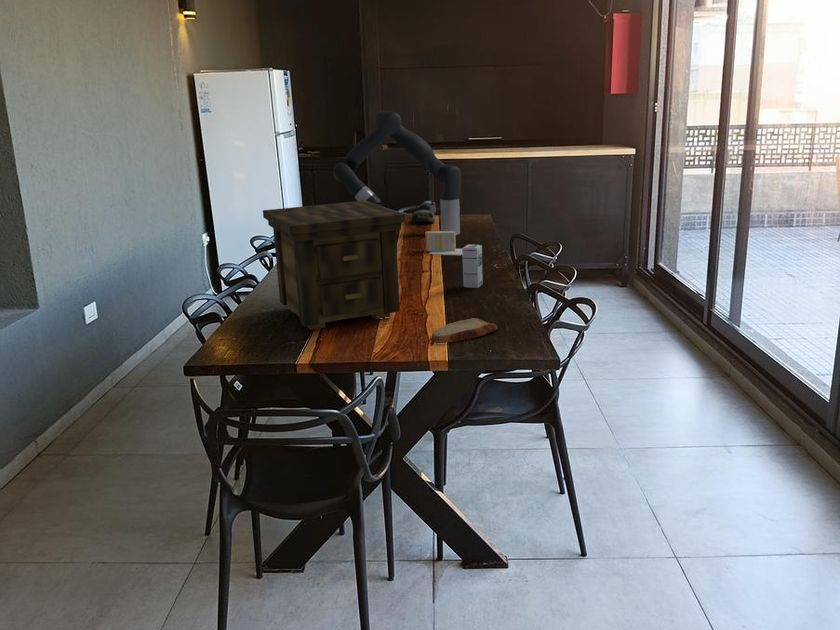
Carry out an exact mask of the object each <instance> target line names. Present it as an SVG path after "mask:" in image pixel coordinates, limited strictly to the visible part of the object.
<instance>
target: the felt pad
mask: <svg viewBox="0 0 840 630" xmlns="http://www.w3.org/2000/svg"><path fill="white" fill-rule="evenodd" d="M429 254H432V255H431V256H434V255H435V256H461V255H462V248H456V250H455V251H429V253H428V255H429Z"/></svg>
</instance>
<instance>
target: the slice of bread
mask: <svg viewBox="0 0 840 630" xmlns="http://www.w3.org/2000/svg"><path fill="white" fill-rule="evenodd" d="M497 330H498V325H497V324H496V323H493V322H491V323H490V322H487V321H485V320H483V319H481V318H477V317H476V318H475V317H471V318H468V319H462V320H461V319H460V320H457V321H455V322H450V323H447V324H445V325H444V326H442V327H440V328H437V329H436V330H435V331H433V332H432V335H431V339H432V340H431V339H430V340H431V342H432V341H433V342H435V343H446V342H454V341H459V342H461V341H460V340H463V341H466V340H465V339H468V340H472V339H471V338H473V339H475V338H476V337H477V338H480V337H484V336H485V335H488V334H491V333H494V332H496V331H497ZM433 342H432V343H433ZM435 343H434V344H435ZM454 343H455V342H454Z"/></svg>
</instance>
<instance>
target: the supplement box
mask: <svg viewBox="0 0 840 630" xmlns="http://www.w3.org/2000/svg"><path fill="white" fill-rule="evenodd" d="M424 236H425V252H431V251H455V250H456V249H457V247H456V246H457V245H456V235H455V231H441V230H433V231H425V233H424Z"/></svg>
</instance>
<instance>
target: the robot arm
mask: <svg viewBox="0 0 840 630" xmlns="http://www.w3.org/2000/svg"><path fill="white" fill-rule="evenodd" d="M374 122H375V126H376V127H377V128H376V129H375V130H374V131H373V132H372V133H370V134H369V135H368V136H366V137H365V138H363V139H361V140H360V141H359V142H357V143H356V144H355V145H354V146H353V147H352V149H351V150H350V151H348V153H347V154H346V156H345V157H344V160H342V161H341V162H337V163H335V165H334V166H333V169H332V170H333V173H332V174H333V178H334V180H335V181H337V182H338V183H342V184H343V185H344V186H345V187H346V189H347V191H348V192H349V193H350V194H351V195H352V196H353V197H354V198H355V200H356V201H369V202H371V203H374V204H377V205H380V206H382V205H381V199H380V198H379V196H378V195H376V193H375V192H374V191H372V190H371V189H370V188H369V187H368V186H367V185H366V184H365V183H364V182H363V181H362V180H361V179H359V178H358V176H357V175H356V174H355V172H354V171H355V170H356V169H357V168H358V167H359V166H360V165H361V164H362V163H363V162H364V161H365V160H366V159H367V157H368V156H370V154H371V153H372V152H373V151H374V150H375V149H376V148H377V147H378V146H380V145H381V144H382V143H383V142H384V141H386V140H387V139H389V138H391V139H392V140H394V141H395V142H396V143H397V144H398V145H399V146H400V147H401V148H402V149H403V150H404V151H405V152H406V153H408V155H410V156H411V157H412V158H413V159H414V160H416V162H418V163H419V164H420V165H421V166H422V167H424V168H425V169H426V170H427V171H428V172H429V173H430V174H431V175H433V177H434V178H435V179H436V180H437V181H438V182H439V183H440V184H442V185H444V191H442V192H440V194H439V199H440V201H439V203H440V231H455V236H458V235H460V234H461V227H460V226H461V223H460V222H461V215H460V214H461V213H460V196H461V192H462V172H461V169H460V168H459V167H458V166H456V165H451V164H446V163H444V162H443V161H442V160H440V159H439V158H438V157H437V156H436V155H435V153H434V150H433V149H432V147H431V145H430V144H429V143H428V142H426V141H425V140H424V139H423V138H422V137H421V136H419V135H418V134H416V133H414V132H413V131H411V130H409V129H407V128H405V127H404V126H403V125H402V118H401V116H400V114H399V113H397V112H395V111H391V110H380V111H378V112H377V113H376V115H375V118H374Z"/></svg>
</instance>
